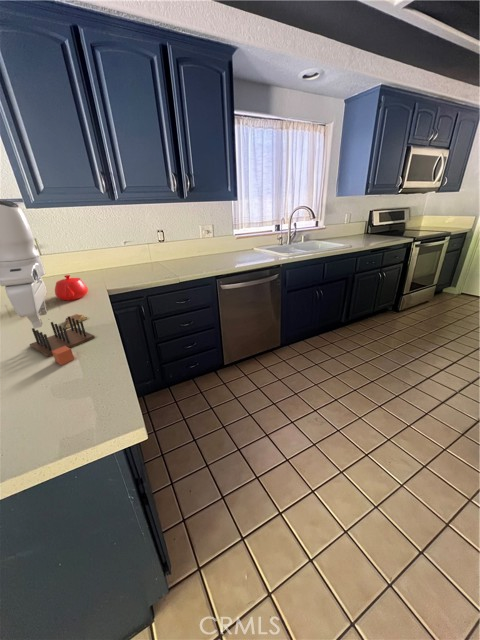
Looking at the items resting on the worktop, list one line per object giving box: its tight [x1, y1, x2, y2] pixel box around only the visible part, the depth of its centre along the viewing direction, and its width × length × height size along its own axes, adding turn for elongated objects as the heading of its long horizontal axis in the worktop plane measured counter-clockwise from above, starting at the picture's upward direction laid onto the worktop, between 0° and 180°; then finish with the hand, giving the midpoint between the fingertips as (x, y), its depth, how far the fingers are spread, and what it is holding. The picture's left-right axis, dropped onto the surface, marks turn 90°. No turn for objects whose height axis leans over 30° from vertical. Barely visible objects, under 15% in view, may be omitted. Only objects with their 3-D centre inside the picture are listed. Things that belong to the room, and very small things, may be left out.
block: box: [52, 346, 75, 366], centre depth 85 cm, size 4×4×4 cm
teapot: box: [54, 274, 89, 301], centre depth 142 cm, size 25×16×12 cm, turn 26°
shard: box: [64, 313, 88, 329], centre depth 113 cm, size 11×8×2 cm
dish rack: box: [29, 315, 95, 358], centre depth 96 cm, size 16×14×7 cm
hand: (41, 320), depth 72 cm, fingers open, 8 cm apart
